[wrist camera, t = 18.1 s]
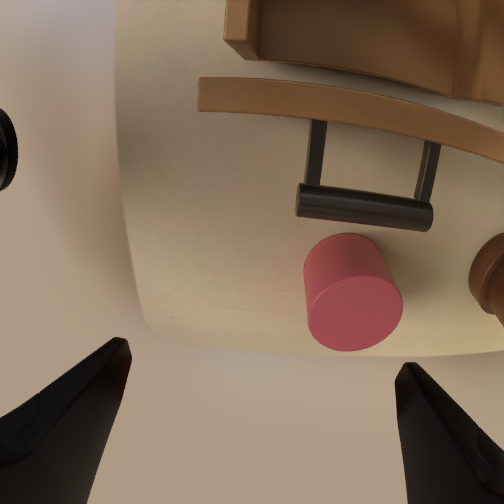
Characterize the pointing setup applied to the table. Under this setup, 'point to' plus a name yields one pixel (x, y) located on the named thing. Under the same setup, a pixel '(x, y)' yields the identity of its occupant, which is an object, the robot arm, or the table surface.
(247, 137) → the table surface
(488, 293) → the pepper mill
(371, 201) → the drawer
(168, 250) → the table surface
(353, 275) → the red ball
